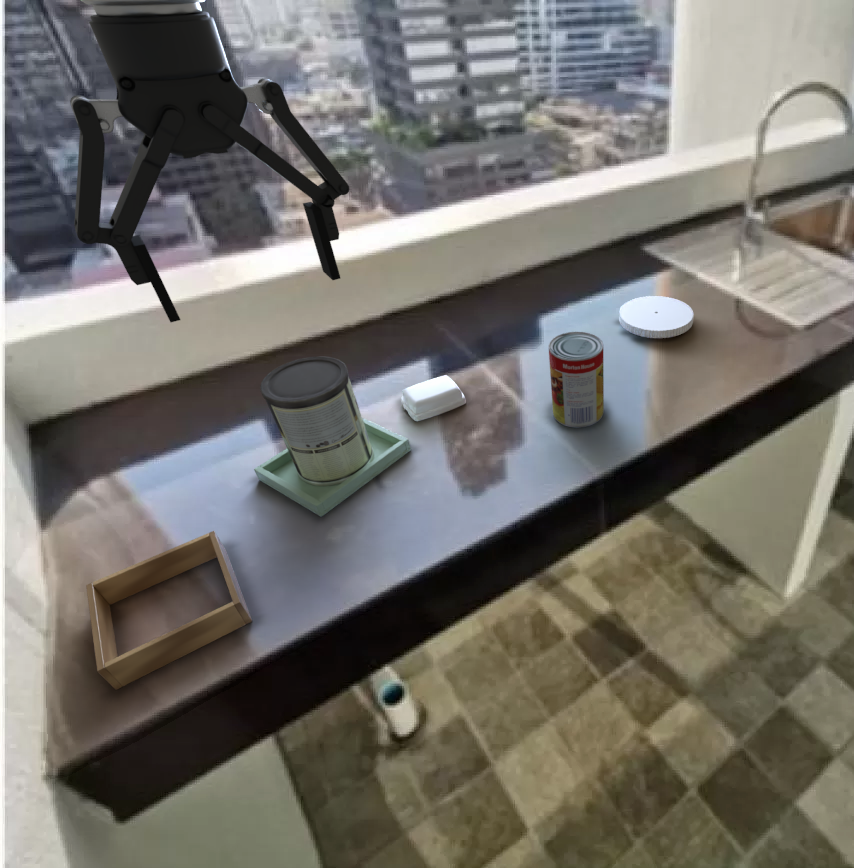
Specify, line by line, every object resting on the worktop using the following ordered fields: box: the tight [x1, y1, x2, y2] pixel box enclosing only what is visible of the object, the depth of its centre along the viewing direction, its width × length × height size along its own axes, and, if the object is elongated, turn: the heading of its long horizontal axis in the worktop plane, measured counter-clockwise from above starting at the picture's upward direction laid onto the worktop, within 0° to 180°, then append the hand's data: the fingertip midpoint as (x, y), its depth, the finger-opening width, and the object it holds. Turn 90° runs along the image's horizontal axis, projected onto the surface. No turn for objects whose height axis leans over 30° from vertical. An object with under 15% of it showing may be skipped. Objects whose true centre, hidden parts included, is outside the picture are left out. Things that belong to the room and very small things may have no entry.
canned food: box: [548, 331, 605, 429], centre depth 90 cm, size 8×8×12 cm
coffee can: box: [259, 356, 374, 486], centre depth 80 cm, size 10×10×14 cm
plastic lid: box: [618, 295, 695, 339], centre depth 115 cm, size 14×14×2 cm
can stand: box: [85, 530, 253, 691], centre depth 65 cm, size 13×13×4 cm
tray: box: [253, 417, 412, 518], centre depth 84 cm, size 16×13×2 cm
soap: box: [400, 374, 467, 422], centre depth 95 cm, size 9×7×3 cm
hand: (257, 294), depth 55 cm, fingers open, 13 cm apart
